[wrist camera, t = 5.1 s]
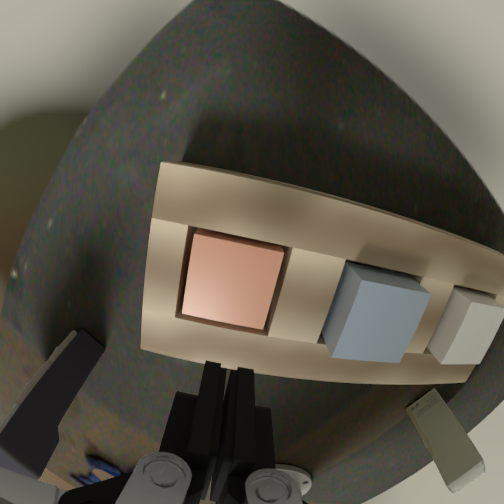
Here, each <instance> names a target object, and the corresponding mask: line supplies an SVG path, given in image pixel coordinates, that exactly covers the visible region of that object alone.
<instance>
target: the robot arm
mask: <svg viewBox="0 0 504 504" xmlns="http://www.w3.org/2000/svg"><path fill="white" fill-rule="evenodd" d="M225 379H226V368H221V363H216V362H211V361H207V360H206V361H205V366H204V371H203V375H202V380H201V385H200V390H199V394H198V396H196V395H192V394H187V393H183V392H178V391H177V392H176V395H175V398H174V401H173V405H172V408H171V411H170V415H169V418H168V422H167V425H166V428H165V432H164V435H163V439H162V442H161V446H160V449H159V452H154V453H149V454H147V455H146V456H144V457H143V458H142V459H141V460H140V461H139V462H138V464H137V466H136V468H135V469H134V471H132V472H129V473H126V474H123V475H120V476H117V477H114V478H111V479H107V480H104V481H101V482H97V483H94V484H90V485H87V486H83V487H79V488H75V489H72V490H69V491H67V490H63V489H59V488H58V487H57V486H56V485H52V484H49V483H45V482H42V481H38V480H36V479H33V478H30V477H27V476H24V475H21V474H18V473H16V472H13V471H10V470H8V469H5V468H1V467H0V504H199V502H200V499H202V500H205V498H206V494H207V491H208V487H209V484H210V481H211V477H212V483H211V493H210V501H215V502H216V504H307V503H306V502H305V501H303V500H302V495H304V494H305V493H306V492H307V491H309V489H310V488H311V485H312V481H311V476H310V475H309V473H308V472H306V471H305V470H303V469H301V468H298V467H295V466H291V465H285V464H275V455H274V443H273V431H272V419H271V410H270V408H267V407H259V406H255V390H254V369H249V368H243V367H238V368H237V370H231V372H230V376H229V380H228V384H227V388H226V392H225V396H224V389H225ZM223 398H224V401H223Z"/></svg>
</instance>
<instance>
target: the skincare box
mask: <svg viewBox="0 0 504 504" xmlns="http://www.w3.org/2000/svg"><path fill="white" fill-rule="evenodd" d="M406 411H407V413H408V415H409V417H410V418H411V420H412V422H413V424H414V425H415V427H416V429H417V431H418V432H419V434H420V436H421V438H422V439H423V441H424V443H425V445H426V447H427V449H428V451H429V452H430V454H431V456H432V458H433V460H434V462H435V464H436V466H437V468H438V470H439V472H440V474H441V476H442V478H443V480H444V482H445V484H446V486H447V488H448V489H449V490H450V491H451V492H452V493H455V492H456V491H458V490H460V489H461V488H463V487H464V486H466V485H467V484H469V483H470V482H471V481H473V480H474V479H475V478H477V477H478V476H480V475H481V474H482V473H484V472H485V465H484V461H483V459H482V457H481V455H480V454H479V452H478V451H477V449H476V447H475V446H474V444H473V443H472V441H471V440H470V438H469V437H468V435H467V434H466V432H465V431H464V429H463V428H462V426H461V425H460V423H459V422H458V420H457V419H456V417H455V416H454V414H453V413H452V411H451V410H450V409H449V407H448V406H447V404H446V403H445V401H444V400H443V399H442V397H441V396H440V394H439V393H438V392H437V390H436V389H435V388H433V389H432V390H431V391H429V392H428V393H427V394H425V395H424V396H423V397H421V398H420V399H418V400H417V401H416V402H414V403H413V404H412V405H410V406H409V407H407V408H406Z"/></svg>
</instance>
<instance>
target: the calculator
mask: <svg viewBox="0 0 504 504" xmlns="http://www.w3.org/2000/svg"><path fill="white" fill-rule="evenodd" d="M104 351H105V348H104V347H103V346H102V345H100V344H99V343H98V342H97V341H96V340H95V339H93V338H92V337H91V336H90V335H89V334H88V333H87V332H85V331H84V330H83V329H81V330H80V331H79V332H78V333H77V332H76V331H75V330H73V331H72V332H71V333H70V334H69V335H68V336H67V337H66V338H65V340H64V341H63V342H62V343H61V344H60V345H59V347H58V346H57V347H56V349H55V350H54V352H53V354H52V355H51V356H50V357H49V359H48V361H47V362H45V363H44V364H43V365H42V367H41V368H40V369H39V370H38V371H37V373H36V374H35V375H34V376H33V378H32V379H31V380H30V381H28V382H27V383H26V386H25V388H24V389H23V390H22V391H21V393H20V394H19V395H18V397H17V400H16V402H15V405H14V407H13V408H12V409H11V411H10V412H9V413H8V415H7V416H6V418H5V419H4V420H3V422H2V423H1V425H0V467H1V468H5V469H8V470H10V471H13V472H16V473H18V474H21V475H24V476H27V477H30V478H33V479H36V480H38V479H39V478H40V477H41V475H42V473H43V471H44V469H45V467H46V465H47V463H48V461H49V459H50V457H51V455H52V454H53V452H54V450H55V448H56V446H57V444H58V442H59V434H58V425H59V423H60V421H61V419H62V418H63V416H64V414H65V413H66V411H67V409H68V408H69V406H70V404H71V403H72V401H73V399H74V398H75V396H76V394H77V393H78V391H79V390H80V388H81V386H82V385H83V383H84V382H85V380H86V379H87V377H88V375H89V374H90V372H91V371H92V369H93V368H94V366H95V365H96V363H97V361H98V360H99V358H100V357H101V355H102V354H103V352H104Z"/></svg>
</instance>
